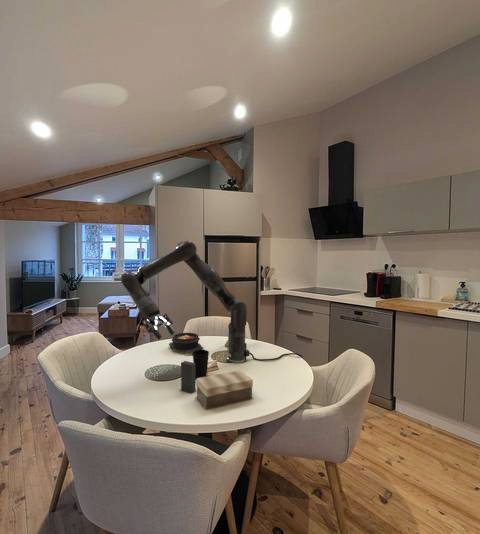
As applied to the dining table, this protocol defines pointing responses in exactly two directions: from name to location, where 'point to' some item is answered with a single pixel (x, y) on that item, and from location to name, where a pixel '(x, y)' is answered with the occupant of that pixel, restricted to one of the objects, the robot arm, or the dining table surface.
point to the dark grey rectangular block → (188, 376)
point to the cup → (200, 363)
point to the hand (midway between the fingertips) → (166, 336)
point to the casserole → (185, 342)
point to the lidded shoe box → (224, 389)
